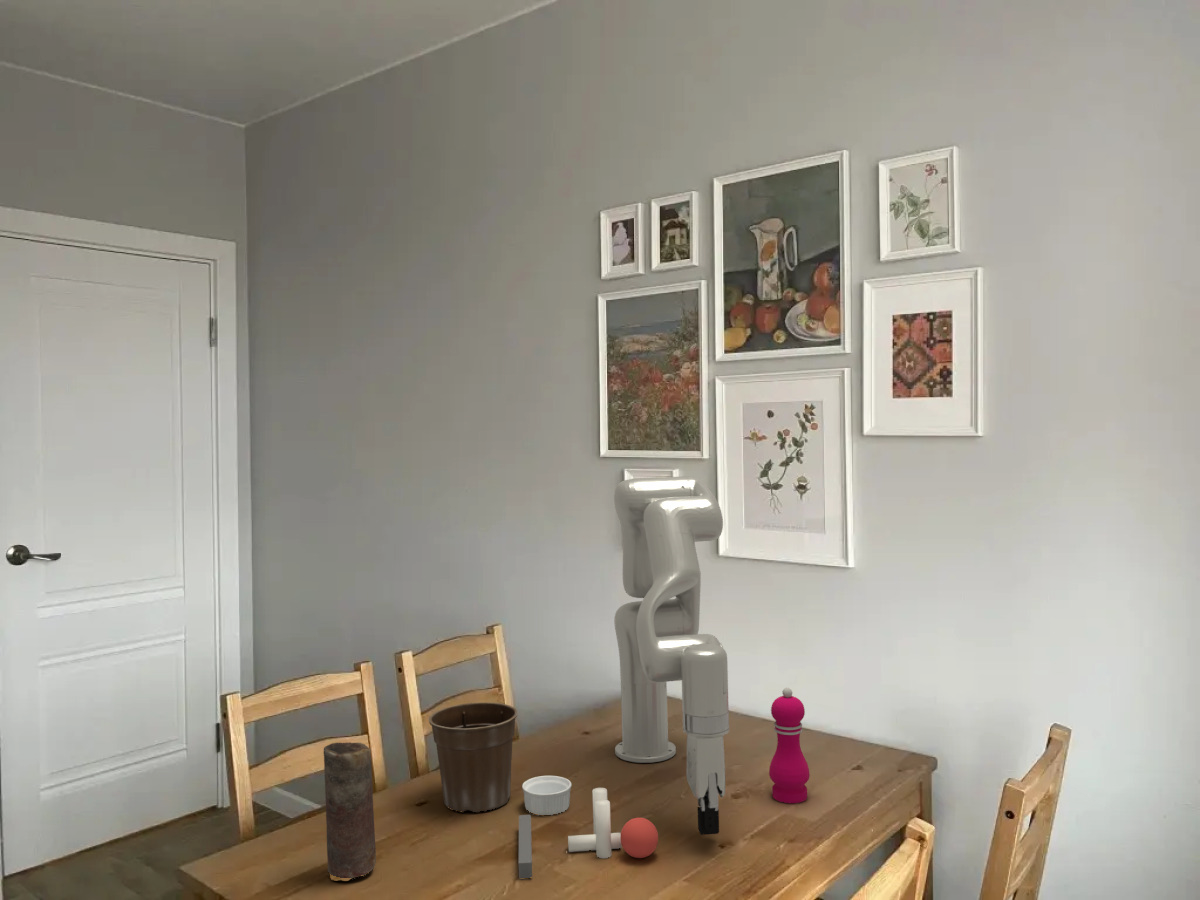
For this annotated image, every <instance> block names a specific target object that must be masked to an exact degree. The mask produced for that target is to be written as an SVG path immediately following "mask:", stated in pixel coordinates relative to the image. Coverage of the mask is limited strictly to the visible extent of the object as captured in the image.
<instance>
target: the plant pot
mask: <svg viewBox="0 0 1200 900" xmlns="http://www.w3.org/2000/svg"><path fill="white" fill-rule="evenodd" d="M517 717H518V709H517V708H515V707H514V706H511V705H508V704H505V703H500V702H489V701H488V702H487V701H486V702H481V701H480V702H469V703H461V704H455V705H451V706H446V707H443V708H441V709H439V710H437V711H435V712H433V713H431V715H430V716H429V717H428V722H429V724H430V726H431V729H432V735H433V736H432V737H433V741H434V743H435V745H436V750H437V751H436V753H437V759H438V767H439V772H440V773H439V774H440V781H441V782H440V783H441V789H442V797H443V804H444V805H446V806H447V807H449V808H451V809H453V810H457V811H462V812H461V813H465V812H466V811H471V812H473V813H474V812H476V813H481V812H480V811H484V812H488V811H487V810H490V811H493V810H495V808H496V809H498V808H500V807H502V806H504V805H505V804H507V803H508V802H509V799H510V798H511V781H512V780H511V779H512V760H513V759H512V755H513V754H512V753H513V739H514V738H513V737H515V732H516V731H515V727H516V719H517ZM446 806H445V807H446ZM447 807H446V808H447ZM449 808H448V809H449ZM451 809H450V810H451ZM492 809H493V810H492ZM453 810H452V811H453ZM457 811H456V812H457ZM464 811H465V812H464Z"/></svg>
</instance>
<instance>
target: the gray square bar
mask: <svg viewBox="0 0 1200 900" xmlns="http://www.w3.org/2000/svg"><path fill="white" fill-rule="evenodd" d="M531 843H532V814H521V815H520V814H519V815H518V879H519V878H530V877H532V878H533V859H532V858H533V857H532V855H533V851H532V850H533V847H532V846H533V845H532V844H533V843H532V844H531Z"/></svg>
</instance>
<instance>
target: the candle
mask: <svg viewBox="0 0 1200 900" xmlns="http://www.w3.org/2000/svg"><path fill="white" fill-rule="evenodd" d="M371 752H372V750H371V748H370V747H368V746H367V745H366V744H365V743H362V742H333V743H329V744H327V745H326V746H324V747H323V762H324V763H323V765H324V768H323V769H324V791H325V792H324V795H325V796H324V797H325V819H326V820H325V821H326V823H325V824H326V855H327V857H326V858H327V873H328V872H329V873H330V874H331V875H333V876H336V877H340V878H353V877H358V876H361V875H365V874H367V873H368V872H370V871H371V872H372V870H373V869H374V868H375V866H376V863H377V855H376V854H377V853H376V852H377V851H376V849H377V848H376V835H375V834H376V833H375V832H376V831H375V815H374V814H375V813H374V796H373V794H374V793H373V774H372V753H371ZM371 872H370V873H371ZM368 874H369V873H368ZM368 874H367V875H368ZM365 876H366V875H365ZM358 878H359V877H358Z"/></svg>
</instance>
